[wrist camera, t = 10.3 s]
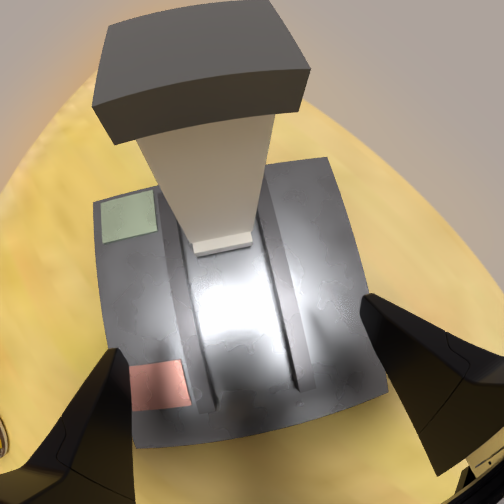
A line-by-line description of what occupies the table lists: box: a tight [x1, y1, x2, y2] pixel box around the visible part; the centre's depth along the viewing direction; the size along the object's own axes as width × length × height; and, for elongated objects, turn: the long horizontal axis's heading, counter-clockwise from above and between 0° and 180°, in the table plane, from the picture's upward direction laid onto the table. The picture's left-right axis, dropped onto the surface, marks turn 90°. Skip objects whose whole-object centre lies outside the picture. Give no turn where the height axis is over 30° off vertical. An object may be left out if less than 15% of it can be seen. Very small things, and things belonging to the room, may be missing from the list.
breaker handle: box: [92, 0, 311, 257], centre depth 9 cm, size 3×4×11 cm
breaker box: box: [93, 157, 388, 449], centre depth 15 cm, size 14×14×3 cm
